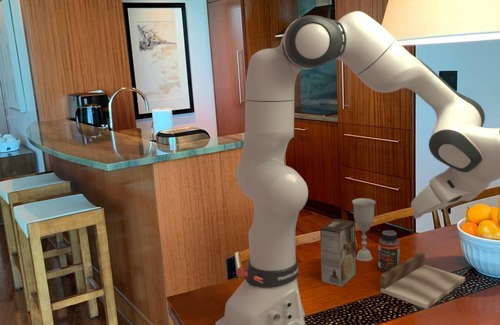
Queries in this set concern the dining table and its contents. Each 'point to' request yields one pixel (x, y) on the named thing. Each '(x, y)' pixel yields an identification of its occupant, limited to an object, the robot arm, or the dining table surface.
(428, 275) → the edge board
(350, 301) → the dining table surface
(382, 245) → the supplement bottle
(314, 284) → the dining table surface
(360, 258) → the chalice
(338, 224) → the coffee box
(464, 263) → the dining table surface
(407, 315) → the dining table surface
